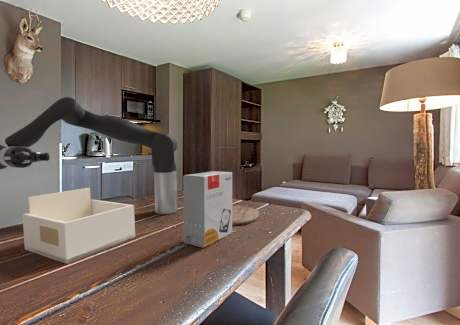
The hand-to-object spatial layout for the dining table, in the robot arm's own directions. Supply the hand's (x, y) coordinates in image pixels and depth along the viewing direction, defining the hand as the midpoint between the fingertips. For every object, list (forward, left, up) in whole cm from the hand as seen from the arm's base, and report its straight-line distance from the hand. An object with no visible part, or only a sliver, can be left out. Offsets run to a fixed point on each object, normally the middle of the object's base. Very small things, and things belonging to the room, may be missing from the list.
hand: (42, 157), depth 85 cm
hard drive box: (-52, +17, -25) cm, 60 cm away
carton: (-15, +12, -25) cm, 31 cm away
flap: (-7, +6, -23) cm, 25 cm away
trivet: (-62, -5, -26) cm, 67 cm away
